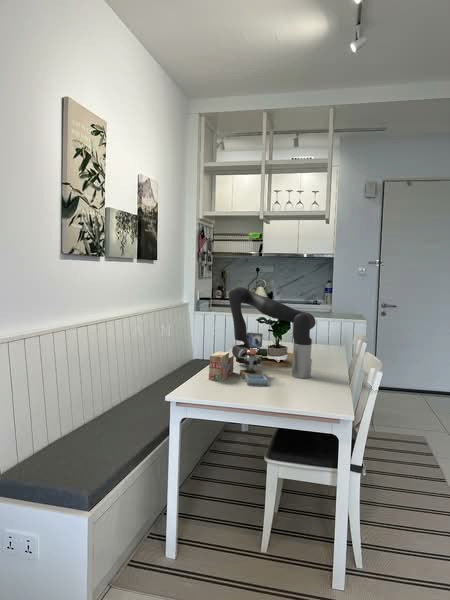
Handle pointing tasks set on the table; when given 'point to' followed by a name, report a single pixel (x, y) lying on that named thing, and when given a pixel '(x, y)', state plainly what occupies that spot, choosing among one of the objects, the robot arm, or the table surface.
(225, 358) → the stack of blocks
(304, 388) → the table surface
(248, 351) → the pin
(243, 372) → the socket block
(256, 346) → the small box
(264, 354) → the miniature car
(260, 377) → the tray
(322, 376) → the table surface
